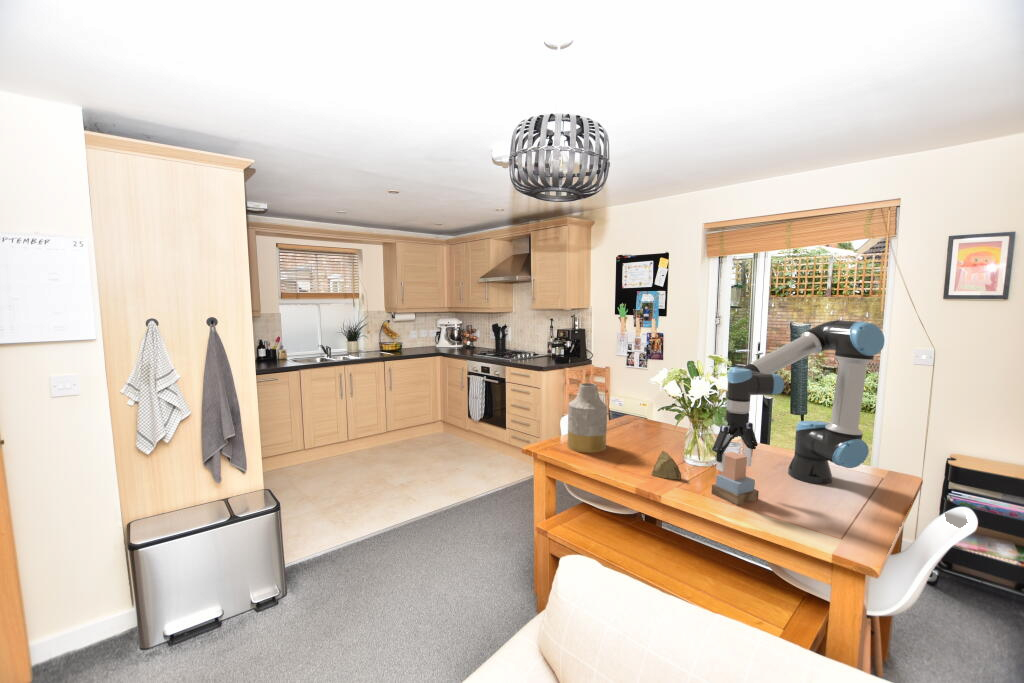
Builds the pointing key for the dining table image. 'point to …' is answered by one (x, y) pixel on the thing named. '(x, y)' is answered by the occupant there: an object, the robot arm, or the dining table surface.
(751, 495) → the tower base
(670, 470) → the rock
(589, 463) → the dining table surface
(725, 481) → the tower top
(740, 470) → the block
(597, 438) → the vase
